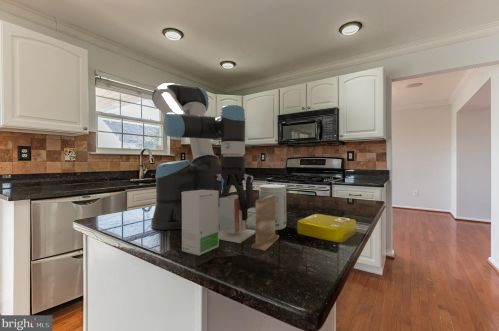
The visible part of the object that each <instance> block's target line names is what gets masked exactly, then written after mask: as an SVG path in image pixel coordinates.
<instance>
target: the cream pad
mask: <svg viewBox="0 0 499 331" xmlns="http://www.w3.org/2000/svg"><path fill="white" fill-rule="evenodd" d="M253 235H256V229H255V230H254V229H253V230H252V229H247V228H245V230H243V231H242V232H239V231H238V232H236V233H235V234H234V233H227V232H220V229H219V241H220V240H221V241H226V242H233V243H237V244H242V243H243V242H244V241H246V240H247V239H249V238H250V237H253Z"/></svg>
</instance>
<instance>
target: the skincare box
mask: <svg viewBox="0 0 499 331" xmlns="http://www.w3.org/2000/svg"><path fill="white" fill-rule="evenodd" d="M218 192H219V191H215V190H196V191H186V192H182V193H181V194H182V229H181V252H184V253H188V254H190V255H194V256H201V255H204V254H206V253H208V252H210V251H212V250H215V249H217V248H219V246H220V239H219V230H220V222H219V195H218Z"/></svg>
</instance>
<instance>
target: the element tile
mask: <svg viewBox="0 0 499 331" xmlns="http://www.w3.org/2000/svg"><path fill="white" fill-rule="evenodd" d="M296 232H297V234H299V235H303V236H307V237H311V238H315V239H319V240H320V239H321V240H325V241H329V242H334V243H344V242H346V241H347V240H348V239H350V238H352V236H353V235H355V234H356V233H357V221H356V219H355V218H354V219H353V218H348V217H341V216H334V215H328V214H327V215H326V214H321V213H315V214H311V215H309V216H306V217H303V218H301V219H299V220H297V231H296Z"/></svg>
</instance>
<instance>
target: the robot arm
mask: <svg viewBox="0 0 499 331" xmlns="http://www.w3.org/2000/svg"><path fill="white" fill-rule="evenodd" d="M151 100H152V104H153V105H154V106H155V107H156V109H158V110H159V111H160V112H161V113H162V115H163V117H164V118H163V131H164V134H165V135H166V136H167V137H170V138H176V139H178V138H180V139H181V138H183V139H186V138H187V139H189V144H190V149H191V154H192V158H193V159H192V160H191V162H190V160H184V159H183V160H175V161H169V162H164V163H159V164H158V165H157V166H156V168H155V185H156V186H155V191H156V193H155V195H156V197H155V198H156V199H155V201H156V202H155V203H156V205H155V208H154V212H153V216H152V218H151V221H150V225H151V228H153V229H155V230H162V231H171V230H172V231H174V230H182V194H181V193H182V192H186V191H196V190H215V191H219V192H218V195H219V198H223V197H227V196H230V195H229V194H230V190H231V188H232V186H234V189H236V193H237V194H236V195H238V198H239V202H240V206H241V209H240V210H239V232H242V231H243V230H245V229H246V228H245V220H247V221H248V216H249V215H248V212H249V211H248V210H250V209H252V208H254V191H253V190H254V187H253V186H254V185H253V183H254V179H255V177H254V175H250V174H247V172H246V171H245V168H246V157H245V156H244V155H245V154H246V116H245V115H246V114H245V108H244V106H242V105H239V104H237V105H235V104H226V105H223V106H221V107H220V108H221V109H220V113H219V116H207V115H205V114H206V112H207V111H208V109H209V106H210V105H209V104H210V103H209V96H208V92H207V91H206V90H205V88H202V87H199V86H193V85H192V86H191V85H186V84H185V85H184V84H179V83H174V82H173V83H171V82H169V83H162V84H161V85H158V86H157V87H156V88H155V89H154V90H153V91H152V95H151ZM211 140H213V141H220V154H221V158H219V156H217V155H215V154H214V153H215V152H214V149H213V146H212V141H211ZM243 181H245V190H244V183H243Z"/></svg>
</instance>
